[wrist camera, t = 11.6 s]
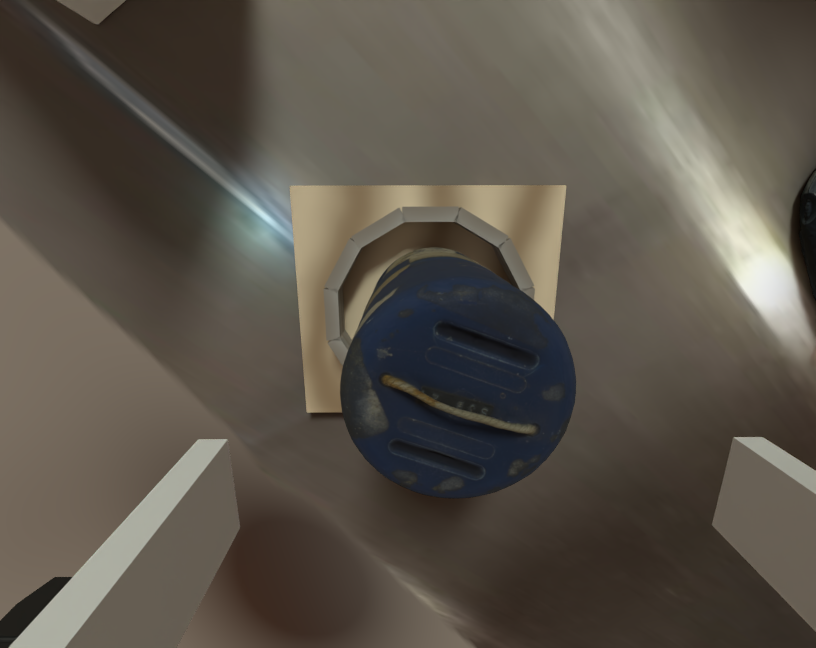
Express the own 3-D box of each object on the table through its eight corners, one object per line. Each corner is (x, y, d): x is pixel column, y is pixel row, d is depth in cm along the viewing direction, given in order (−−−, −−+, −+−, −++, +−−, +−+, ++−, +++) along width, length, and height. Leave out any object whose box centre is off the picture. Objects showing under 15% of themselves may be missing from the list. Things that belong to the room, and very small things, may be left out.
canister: (444, 385, 33) (489, 573, 16) (347, 322, 32) (278, 454, 14) (517, 290, 31) (660, 387, 14) (416, 218, 30) (435, 226, 12)
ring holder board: (560, 186, 30) (581, 182, 27) (540, 404, 35) (555, 425, 31) (294, 186, 30) (279, 183, 27) (310, 406, 35) (299, 427, 31)
